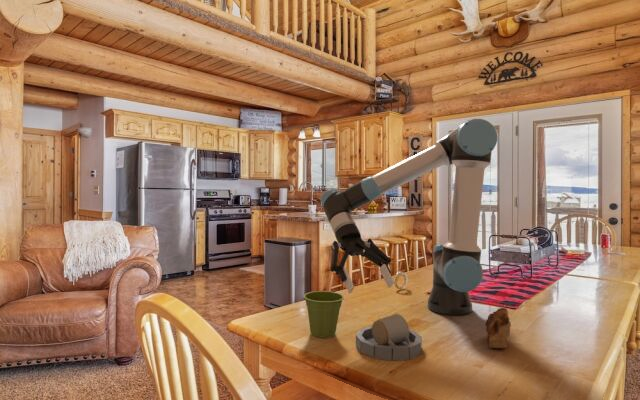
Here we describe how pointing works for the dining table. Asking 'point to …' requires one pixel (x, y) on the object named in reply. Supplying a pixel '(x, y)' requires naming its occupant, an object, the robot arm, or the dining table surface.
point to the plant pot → (323, 312)
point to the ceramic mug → (390, 330)
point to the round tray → (394, 353)
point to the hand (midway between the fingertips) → (372, 287)
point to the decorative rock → (498, 328)
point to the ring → (398, 278)
